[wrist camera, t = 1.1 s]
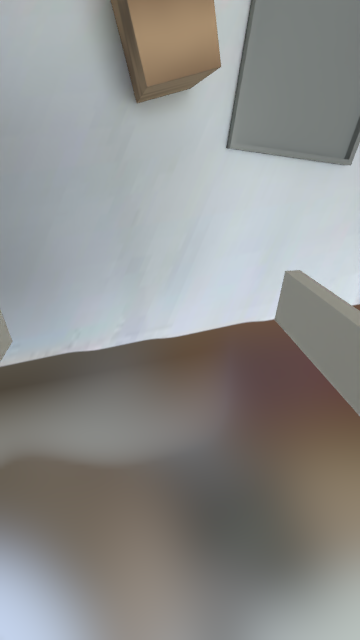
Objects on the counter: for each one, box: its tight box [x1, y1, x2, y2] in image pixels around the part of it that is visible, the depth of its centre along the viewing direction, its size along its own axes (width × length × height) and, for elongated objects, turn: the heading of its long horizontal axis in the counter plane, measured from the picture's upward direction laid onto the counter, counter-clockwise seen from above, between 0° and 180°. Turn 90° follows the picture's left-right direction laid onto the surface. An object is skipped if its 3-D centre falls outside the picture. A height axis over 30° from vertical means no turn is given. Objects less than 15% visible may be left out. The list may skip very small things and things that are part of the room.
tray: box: [227, 0, 360, 165], centre depth 30 cm, size 17×17×1 cm
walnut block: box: [111, 0, 221, 103], centre depth 23 cm, size 8×6×10 cm
